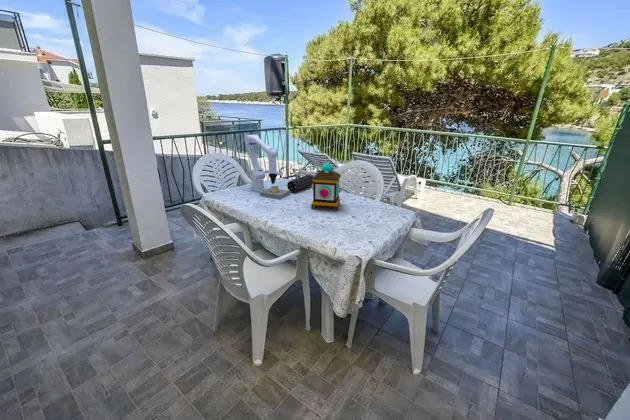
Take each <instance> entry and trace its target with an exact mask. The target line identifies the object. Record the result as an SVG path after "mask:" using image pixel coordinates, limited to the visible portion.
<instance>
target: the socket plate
mask: <svg viewBox="0 0 630 420" xmlns="http://www.w3.org/2000/svg"><path fill="white" fill-rule="evenodd" d="M259 194H260V195H261V196H260V195H259V196H260V197H264V196H265V197H264V198H269V197H271V198H270V199H275V198H276V199H275V200H282V199H284V198H286V197H288V196H290V195H291V191H289V190H287V189H280V188H279V192H277V193H273V192H271V187H269V188H266V190H264V191H261V192H259Z"/></svg>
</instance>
